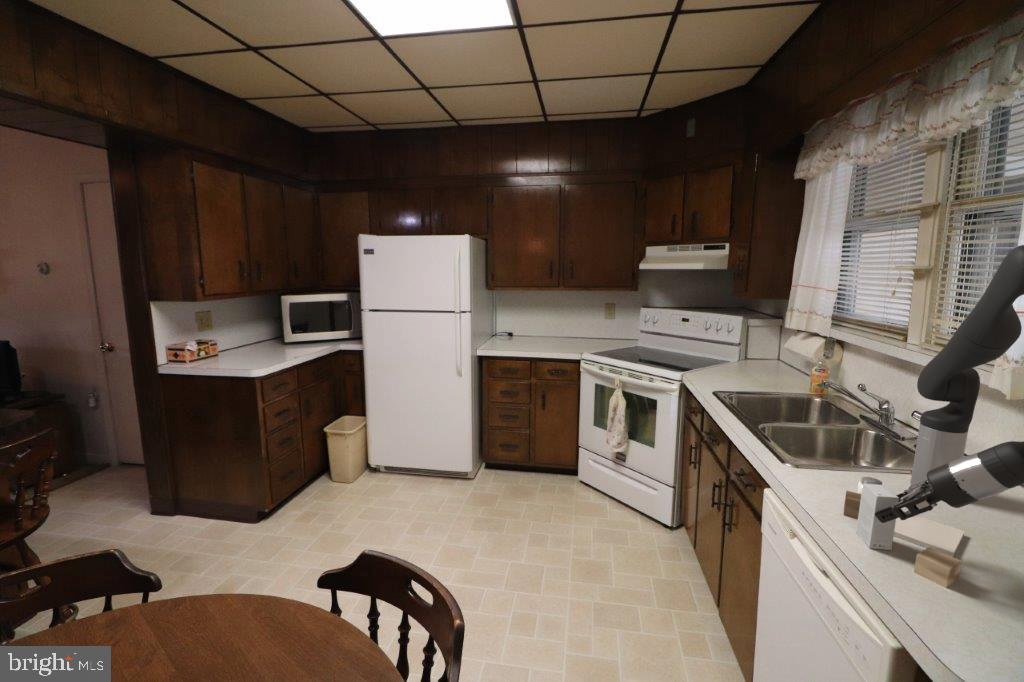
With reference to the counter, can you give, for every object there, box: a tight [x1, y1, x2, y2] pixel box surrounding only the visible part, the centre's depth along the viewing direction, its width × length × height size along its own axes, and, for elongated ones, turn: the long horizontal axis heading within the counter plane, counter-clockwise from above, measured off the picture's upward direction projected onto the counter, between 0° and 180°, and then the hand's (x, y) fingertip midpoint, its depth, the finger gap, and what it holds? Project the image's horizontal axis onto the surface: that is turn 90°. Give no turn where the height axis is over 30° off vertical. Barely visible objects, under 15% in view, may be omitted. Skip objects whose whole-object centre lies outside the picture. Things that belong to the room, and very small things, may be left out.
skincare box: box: [855, 483, 899, 551], centre depth 101 cm, size 6×4×12 cm
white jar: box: [856, 476, 883, 494], centre depth 116 cm, size 5×5×7 cm
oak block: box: [913, 547, 962, 589], centre depth 91 cm, size 5×5×4 cm
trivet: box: [893, 510, 965, 558], centre depth 105 cm, size 12×12×1 cm
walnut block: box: [843, 490, 861, 520], centre depth 113 cm, size 4×4×4 cm
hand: (884, 510), depth 100 cm, fingers open, 8 cm apart
